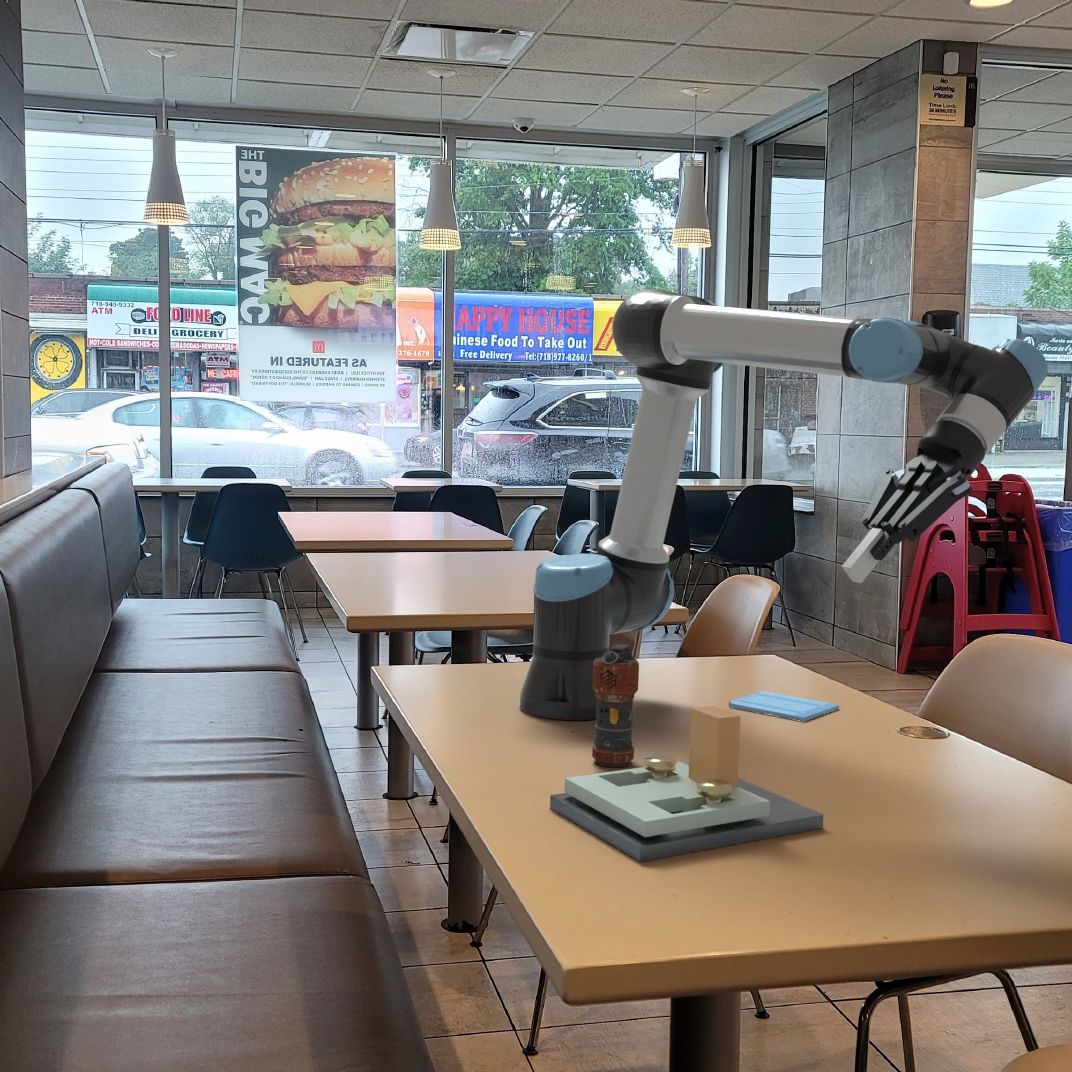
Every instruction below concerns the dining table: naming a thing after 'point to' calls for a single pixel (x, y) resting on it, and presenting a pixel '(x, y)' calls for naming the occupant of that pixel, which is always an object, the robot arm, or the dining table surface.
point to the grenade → (614, 706)
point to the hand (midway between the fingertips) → (851, 574)
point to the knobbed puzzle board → (677, 784)
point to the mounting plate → (779, 822)
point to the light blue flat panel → (783, 705)
